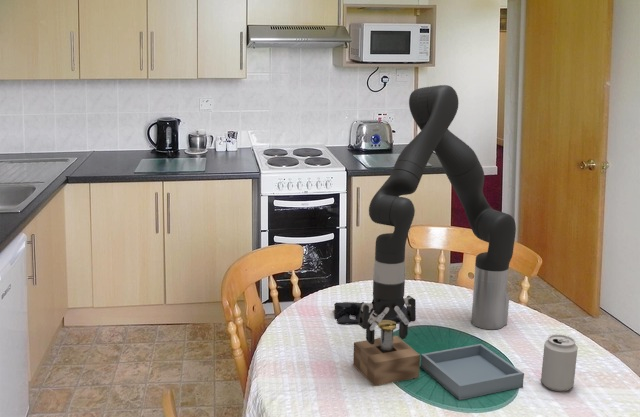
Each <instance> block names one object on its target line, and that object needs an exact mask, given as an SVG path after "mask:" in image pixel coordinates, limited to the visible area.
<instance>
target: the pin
mask: <svg viewBox="0 0 640 417" xmlns="http://www.w3.org/2000/svg"><path fill="white" fill-rule="evenodd" d="M377 327H378V329H380V338H381V340H380V351H381V352H382V353H387V352H392V349H393V336H394V330H395V329H396V328H397V322H394V321H391V320H381V322H380V323H379V324H377Z"/></svg>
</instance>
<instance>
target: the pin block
mask: <svg viewBox="0 0 640 417" xmlns="http://www.w3.org/2000/svg"><path fill="white" fill-rule="evenodd" d="M380 340H381V337H379V338H374V344H370V343H369V342H368V341H367V340H361V341H354V342H353V353H352V355H353V357H352V359H353V360H352V361H353V362H352V364H353V366H354V367H355V368H356V369H357V370H358V371H359V372H360V373H361V374H362V375H363V376H364V377H365V378H366V379H367V380H368V381H369V382H370V383H371V385H373V386H374V387H377V386H383V385H388V384H392V383H397V381H399V382H403V381H402V380H404V381H409V380H413V378H415V379H419V378H420V368H421V354H420V353H419V352H417V351H416V350H415V349H414V348H412V346H410V345H409V344H408V343H406V341H404V339H402V338H400V337H399V335H393V349H392V352H387V353H382V352H381V351H380ZM418 377H419V378H418ZM408 379H409V380H408Z"/></svg>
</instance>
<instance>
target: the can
mask: <svg viewBox="0 0 640 417" xmlns="http://www.w3.org/2000/svg"><path fill="white" fill-rule="evenodd" d="M576 342H577V341H576V340H575V338H573V337H572V336H570V335H566V334H560V333H559V334H558V333H556V334H551V335H549V336H548V337H547V340H545V341H544V346H543V353H542V355H543V356H542V366H541V373H540V374H541V377H540V381H541V383H542V384H543V385H544V386H545V387H546V388H547V389H549V390H551V391H554V392H555V391H556V392H567V391H569V390H570V389H572V388H573V387H574V386H575V385H574V384H575V376H576V375H575V374H576V368H577V366H576V364H577V360H578V359H577V358H578V348H579V347H578V345H577V344H576Z"/></svg>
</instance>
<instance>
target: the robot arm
mask: <svg viewBox="0 0 640 417" xmlns="http://www.w3.org/2000/svg"><path fill="white" fill-rule="evenodd" d="M408 107H409V111H410V114H411V116H412V119H413V120H414V122H415V124H416V125H417V127H418V128H419V130H420V131H419V133H418V134H416V136H414V138H413V139H412V140H411V141H410V142H409V143H408V144H406V146H405V147H404V148H403V149H402V151H401V152H400V153H399V155H398V157H397V159H396V161H395V163H394V164H393V165H394V166H393V167H392V171H391V172H390V175H389V177H388V178H387V179H386V181H385V182H384V183H383V184H382V185H381V186H380V188H379V189H378V190H377V191H376V193H375V194H374V196H373V197H372V199H371V200H370V203H369V206H368V216H369V218H370V220H371V221H372V222H373V223H375V224H378V225H384V226H388V227H389V226H390V227H393V228H394V230H393V232H390V233H382V234H379V235H378V236H377V237H376V238H375V246H374V247H375V248H374V250H375V252H374V263H373V274H372V277H373V278H372V281H373V282H372V297H373V298H372V301H371V302H364V301H362V302H360V303H361V304H360V313H359V324H358V326H360V327H361V328H362V329H363V330H365V339H366V340H367V341H368V342H369V343H370V344H374V339H376V338H375V334H376V331H375V328H376V326H378V324H379V323H380V322H381V320H382V319H388V318H395V317H396V316H397V317H398V318H399V320H400V322H398V323H399V328H398V337H399V338H400V339H402V340H406V337H407V336H408V333H409V331H408V329H409V324H410V323H412V322H415V321H416V320H417V319H416V317H417V316H416V306H417V305H416V299H415V298H414V297H412V296H411V295H407V296H406V297H404V296H405V285H406V284H405V283H406V262H405V259H406V257H405V256H406V243H407V240H408V235H409V232H410V230H411V226H412V223H413V221H414V217H415V212H416V211H415V210H416V209H415V206H414V203H413V201H412V200H411V199H410V198H408V197H404V196H407V195H412V194H414V193H415V192H416V191H417V189H418V187H419V184H420V182H421V179H422V177H423V174H424V172H425V169H426V167H427V165H428V162H429V161H430V158H431V157H432V154H433V153H435V155H436V157H437V158H438V160H439V162H440V164H441V166H442V169H443V172H444V173H445V175H446V178H447V179H448V181H449V182H450V184H451V185H452V188H453V190H454V192H455V193H456V196H457V198H458V199H459V201H460V204H461V205H462V207H463V210H464V212H465V215H466V218H467V221H468V224H469V226H470V228H471V231H472V233H473V234H474V236H475V237H476V238H477V239H479V240H481V241H483V242H486V243H488V247H487V251H485V252H481V253H479V254H477V255H476V257H475V263H474V277H473V290H472V291H473V292H472V305H471V306H472V307H471V317H470V318H471V320H470V321H471V324H472V325H473V326H475V327H477V328H480V329H483V330H484V329H485V330H498V329H501V328H503V327H504V326H507V325H508V320H509V319H508V317H509V307H510V305H509V304H510V293H509V292H508V281H509V280H508V279H509V270H510V267H509V266H510V262H511V260H512V258H513V256H514V255H513V254H514V247H515V241H516V232H517V226H516V221H515V220H516V219H515V218H514V217H513V216H512V215H511V214H509V213H506V212H503V211H500V210H496V209H494V208H493V207H491V205H490V204H489V202H488V201H487V199H486V196H485V194H484V190H483V189H484V184H485V172H484V168H483V167H482V164H481V162H480V160H479V158H478V156H477V154H476V152H475V151H474V149H473V148H472V147H471V146H469V144H467V143H466V142H465V141H463V140H462V139H461V138H459V137H458V136H456V135H455V134H454V133H453V132H452V131H450V129H449V127H450V126H451V125H452V122H453V121H454V119H455V118H456V116H457V113H458V109H459V96H458V93H457V91H456V89H454V87H452V85H446V84H442V85H441V84H438V85H432V86H425V87H424V86H423V87H419V88H416V89H414V90H413V91H411V93H410V94H409V99H408ZM403 306H405V307H406V310H407V316H405V315H404V314H403V312H402V311H401V309H402V308H403ZM372 308H373V312H372V313H371V314H370V318H369V319H368V315H369V313H370V310H371V309H372ZM376 315H378V317H377V318H376Z"/></svg>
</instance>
